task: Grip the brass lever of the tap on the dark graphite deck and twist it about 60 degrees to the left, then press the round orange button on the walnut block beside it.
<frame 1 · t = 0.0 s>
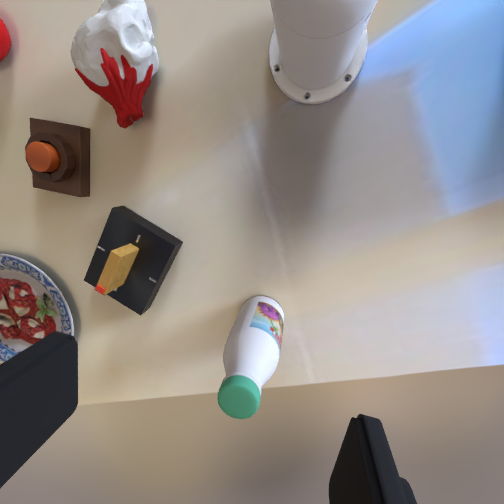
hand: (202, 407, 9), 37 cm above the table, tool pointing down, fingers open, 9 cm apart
ceramic plate: (26, 310, 58), on the table
milk bottle: (262, 314, 49), on the table
button block: (66, 159, 47), on the table
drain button: (43, 157, 43), point 4 cm above the table, slide at 0.1 cm
tap lever: (117, 268, 45), point 6 cm above the table, hinge at 0.0°
white and red skull: (136, 77, 42), on the table
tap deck: (137, 259, 50), on the table
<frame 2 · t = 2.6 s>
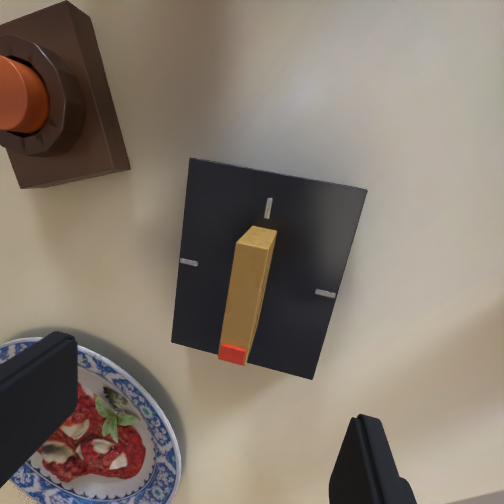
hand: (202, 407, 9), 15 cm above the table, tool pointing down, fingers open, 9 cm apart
ceramic plate: (85, 424, 33), on the table
button block: (64, 110, 23), on the table
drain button: (10, 96, 19), point 4 cm above the table, slide at 0.1 cm
tap lever: (248, 291, 18), point 6 cm above the table, hinge at 0.0°
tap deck: (261, 264, 23), on the table
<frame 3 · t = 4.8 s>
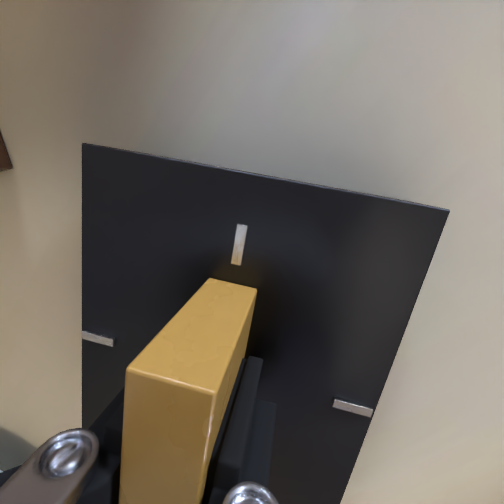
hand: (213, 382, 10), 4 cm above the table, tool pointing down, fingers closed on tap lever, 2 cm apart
tap lever: (194, 427, 8), point 6 cm above the table, hinge at 0.0°, touching gripper
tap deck: (236, 329, 14), on the table
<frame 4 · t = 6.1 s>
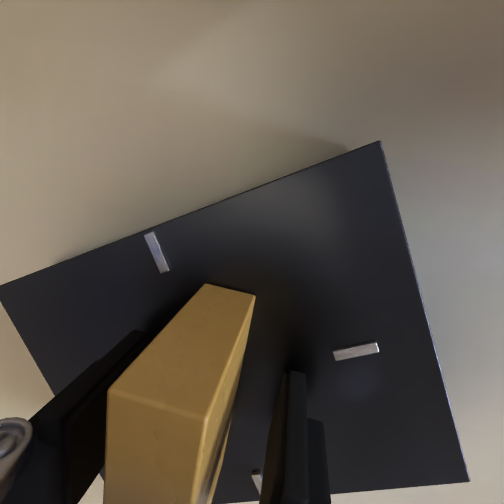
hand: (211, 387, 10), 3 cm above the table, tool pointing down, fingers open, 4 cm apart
tap lever: (187, 443, 8), point 6 cm above the table, hinge at 59.2°
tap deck: (233, 335, 13), on the table
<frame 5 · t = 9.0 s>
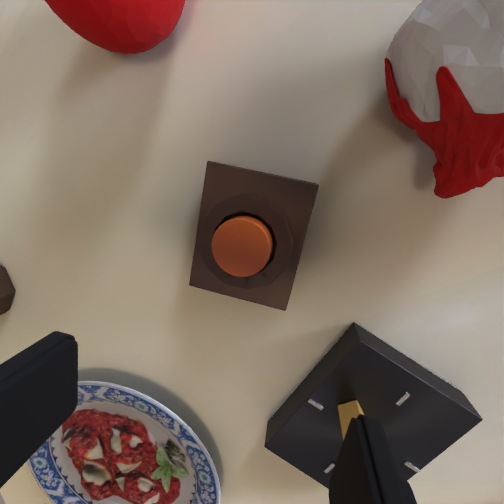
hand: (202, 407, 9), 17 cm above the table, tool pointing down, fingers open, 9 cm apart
ceramic plate: (128, 454, 36), on the table
button block: (252, 234, 25), on the table
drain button: (242, 245, 21), point 4 cm above the table, slide at 0.1 cm
tap lever: (370, 463, 23), point 6 cm above the table, hinge at 59.2°
white and red skull: (450, 87, 20), on the table
fruit: (147, 8, 22), on the table
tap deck: (357, 408, 28), on the table
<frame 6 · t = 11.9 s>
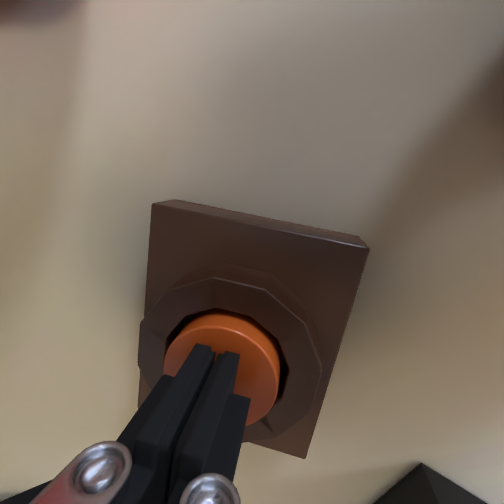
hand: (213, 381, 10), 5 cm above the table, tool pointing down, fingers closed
button block: (244, 318, 15), on the table
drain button: (224, 365, 11), point 4 cm above the table, slide at -0.5 cm, touching gripper
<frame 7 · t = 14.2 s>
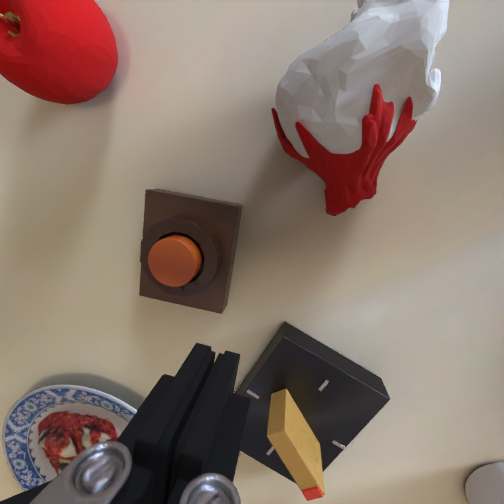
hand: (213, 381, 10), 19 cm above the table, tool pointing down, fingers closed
ceramic plate: (100, 452, 39), on the table
milk bottle: (499, 485, 31), on the table
button block: (192, 248, 29), on the table
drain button: (175, 260, 25), point 4 cm above the table, slide at 0.1 cm
tap lever: (296, 441, 26), point 6 cm above the table, hinge at 59.2°
white and red skull: (340, 123, 25), on the table
fruit: (90, 63, 26), on the table
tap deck: (295, 397, 32), on the table
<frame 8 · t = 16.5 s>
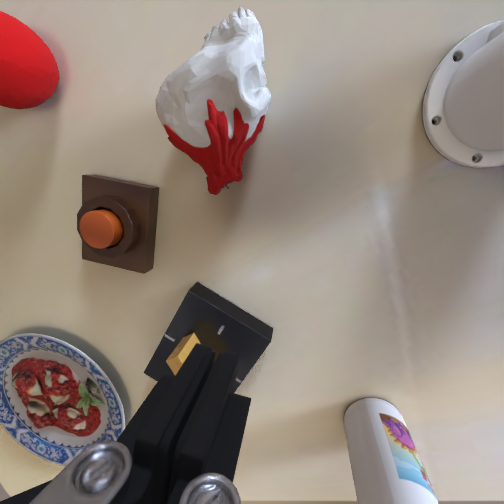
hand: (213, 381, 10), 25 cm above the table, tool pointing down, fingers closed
ceramic plate: (63, 394, 47), on the table
milk bottle: (371, 418, 38), on the table
button block: (124, 223, 37), on the table
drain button: (101, 228, 33), point 4 cm above the table, slide at 0.1 cm
tap lever: (196, 371, 34), point 6 cm above the table, hinge at 59.2°
white and red skull: (226, 124, 32), on the table
fruit: (41, 76, 34), on the table
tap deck: (210, 345, 40), on the table
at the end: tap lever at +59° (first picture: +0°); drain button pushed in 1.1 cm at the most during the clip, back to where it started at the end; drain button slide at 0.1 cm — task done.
